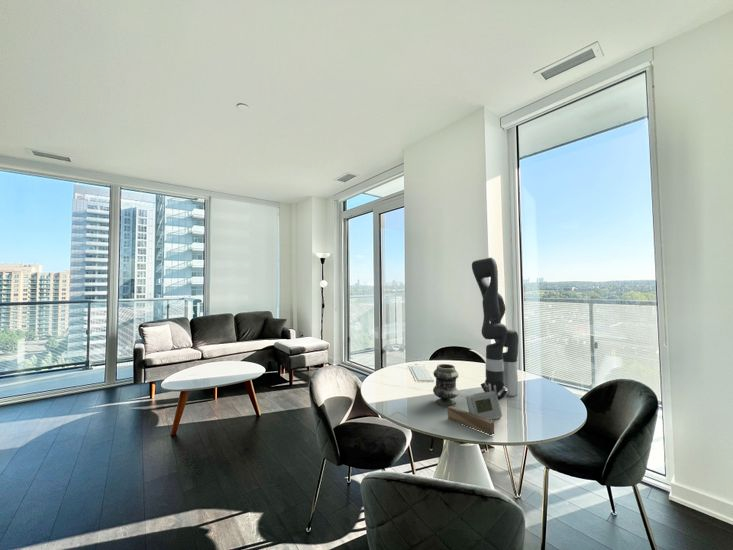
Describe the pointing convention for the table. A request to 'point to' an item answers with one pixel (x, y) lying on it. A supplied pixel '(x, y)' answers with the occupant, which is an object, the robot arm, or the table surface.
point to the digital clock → (484, 405)
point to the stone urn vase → (445, 385)
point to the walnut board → (471, 420)
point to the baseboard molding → (420, 373)
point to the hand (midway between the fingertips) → (494, 407)
